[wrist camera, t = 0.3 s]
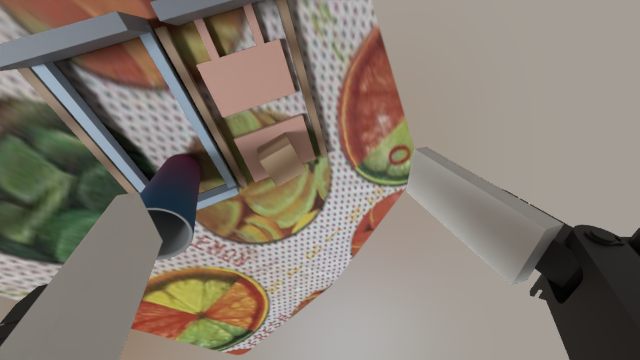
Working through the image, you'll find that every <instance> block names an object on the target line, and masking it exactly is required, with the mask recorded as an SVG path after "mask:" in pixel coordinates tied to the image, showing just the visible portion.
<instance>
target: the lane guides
mask: <svg viewBox="0 0 640 360" xmlns="http://www.w3.org/2000/svg"><path fill="white" fill-rule="evenodd" d="M275 1H276V4H277V8H278V11H279V14H280V18H281V21H282V25H283V28H284V32H285V35H286V39H287V42H288V46H289V49H290V53H291V56H292V59H293V63H294V66H295V70H296V73H297V77H298V80H299V84H300V87H301V91H302V94H303V97H304V101H305V104H306V108H307V111H308V115H309V118H310V122H311V125H312V129H313V132H314V136H315V139H316V142H317V146H318V149H319V153H320V155H321V157H322V158H324V157H327V156H328V154H327V150H326V147H325V143H324V139H323V135H322V132H321V128H320V124H319V120H318V117H317V113H316V109H315V106H314V102H313V98H312V94H311V91H310V87H309V83H308V80H307V76H306V72H305V68H304V65H303V61H302V57H301V53H300V50H299V46H298V42H297V39H296V35H295V31H294V27H293V24H292V20H291V16H290V12H289V9H288V5H287V1H286V0H275ZM154 30H155V32H156V33H157V35H158V37H159V39H160V41H161V42H162V44H163V46H164V48H165V50H166V52H167V53H168V55H169V57H170V59H171V61H172V62H173V64H174V66H175V68H176V70H177V71H178V73H179V75H180V77H181V79H182V81H183V82H184V84H185V86H186V88H187V90H188V91H189V93H190V95H191V97H192V99H193V100H194V102H195V104H196V106H197V108H198V110H199V111H200V113H201V115H202V117H203V119H204V120H205V122H206V124H207V126H208V128H209V130H210V131H211V133H212V135H213V137H214V139H215V140H216V142H217V144H218V146H219V148H220V149H221V151H222V153H223V155H224V157H225V159H226V160H227V162H228V164H229V166H230V168H231V169H232V171H233V173H234V175H235V177H236V179H237V180H238V182H239V184H240V186H241V188H242V189H244V188H246V187H248V182H247V180H246V178H245V176H244V174H243V172H242V170H241V168H240V166H239V164H238V163H237V161H236V159H235V157H234V155H233V153H232V151H231V149H230V147H229V145H228V143H227V142H226V140H225V138H224V136H223V134H222V132H221V130H220V128H219V126H218V124H217V122H216V121H215V119H214V117H213V115H212V113H211V111H210V109H209V107H208V105H207V103H206V101H205V100H204V98H203V96H202V94H201V92H200V90H199V88H198V86H197V84H196V82H195V80H194V79H193V77H192V75H191V73H190V71H189V69H188V67H187V65H186V63H185V61H184V59H183V58H182V56H181V54H180V52H179V50H178V48H177V46H176V44H175V42H174V40H173V38H172V37H171V35H170V33H169V31H168V29H167V27H164V26H162V27H159V28H155V29H154ZM17 70H18V71H19V72H20V73H21V75H22V76H23V77H24V78H25V79H26V80H27V81H28V82H29V83H30V84H31V86H32V87H33V88H34V89H35V90H36V91H37V92H38V93H39V94H40V96H41V97H42V98H43V99H44V100H45V101H46V102H47V103H48V104H49V106H50V107H51V108H52V109H53V110H54V111H55V112H56V113H57V114H58V116H59V117H60V118H61V119H62V120H63V121H64V122H65V123H66V124H67V125H68V127H69V128H70V129H71V130H72V131H73V132H74V133H75V134H76V135H77V137H78V138H79V139H80V140H81V141H82V142H83V143H84V144H85V145H86V147H87V148H88V149H89V150H90V151H91V152H92V153H93V154H94V155H95V157H96V158H97V159H98V160H99V161H100V162H101V163H102V164H103V165H104V167H105V168H106V169H107V170H108V171H109V172H110V173H111V174H112V175H113V176H114V178H115V179H116V180H117V181H118V182H119V183H120V184H121V185H122V186H123V188H124V189H125V190H126V191H127V192H128V193H129V194H131V193H137V192H138V193H139V194H140V192H139V191H138V190H137V189H136V188H135V186H134V185H133V184H132V183H131V182H130V181H129V179H128V178H127V177H126V176H125V175H124V174H123V173H122V171H121V170H120V169H119V168H118V167H117V166H116V164H115V163H114V162H113V161H112V160H111V159H110V158H109V156H108V155H107V154H106V153H105V152H104V151H103V149H102V148H101V147H100V146H99V145H98V144H97V143H96V141H95V140H94V139H93V138H92V137H91V136H90V134H89V133H88V132H87V131H86V130H85V129H84V128H83V126H82V125H81V124H80V123H79V122H78V121H77V119H76V118H75V117H74V116H73V115H72V114H71V113H70V111H69V110H68V109H67V108H66V107H65V106H64V104H63V103H62V102H61V101H60V100H59V99H58V97H57V96H56V95H55V94H54V93H53V92H52V91H51V89H50V88H49V87H48V86H47V85H46V84H45V82H44V81H43V80H42V79H41V78H40V77H39V76H38V74H37V73H36V72H35V71H34V70H33V69H32V67H28V68H20V69H17Z"/></svg>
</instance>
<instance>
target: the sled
mask: <svg viewBox="0 0 640 360" xmlns="http://www.w3.org/2000/svg"><path fill="white" fill-rule="evenodd" d="M138 37H140V38H141V40H142V42H143V44H144V45H145V47H146V49H147V50H148V52H149V54H150V55H151V57H152V59H153V61H154V62H155V64H156V66H157V67H158V69H159V71H160V72H161V74H162V76H163V77H164V79H165V81H166V83H167V84H168V86H169V88H170V89H171V91H172V93H173V94H174V96H175V98H176V99H177V101H178V103H179V105H180V106H181V108H182V110H183V111H184V113H185V115H186V116H187V118H188V120H189V122H190V123H191V125H192V127H193V128H194V130H195V132H196V133H197V135H198V137H199V138H200V140H201V142H202V144H203V145H204V147H205V149H206V150H207V152H208V154H209V155H210V157H211V159H212V161H213V162H214V164H215V166H216V167H217V169H218V171H219V172H220V174H221V176H222V177H223V179H224V181H225V183H226V184H225V185H222V186H220V187H217V188H214V189H212V190H209V191H206V192H204V193H201V194H198V201H197V210H198V209H201V208H204V207H206V206H209V205H211V204H214V203H217V202H219V201H222V200H224V199H227V198H230V197H232V196H235V195H237V194H239V185H238V183H237V181H236V180H235V178H234V176H233V174H232V172H231V171H230V169H229V167H228V165H227V163H226V162H225V160H224V158H223V156H222V154H221V153H220V151H219V149H218V147H217V145H216V144H215V142H214V140H213V138H212V136H211V135H210V133H209V131H208V129H207V127H206V126H205V124H204V122H203V120H202V119H201V117H200V115H199V113H198V111H197V110H196V108H195V106H194V104H193V102H192V101H191V99H190V97H189V95H188V93H187V92H186V90H185V88H184V86H183V84H182V83H181V81H180V79H179V77H178V75H177V74H176V72H175V70H174V68H173V66H172V65H171V63H170V61H169V59H168V57H167V56H166V54H165V52H164V50H163V48H162V47H161V45H160V43H159V41H158V39H157V38H156V36H155V34H154V32H153V30H152V29H151V27H150V25H149V23H148V21H147V20H146V19H145V18H141V17H137V16H133V15H129V14H125V13H121V12H117V11H116V12H112V13H109V14H105V15H102V16H98V17H94V18H91V19H87V20H84V21H80V22H76V23H73V24H69V25H66V26H62V27H59V28H55V29H51V30H48V31H44V32H41V33H37V34H34V35H30V36H26V37H23V38H19V39H16V40H12V41H9V42H5V43H1V44H0V71H4V70H12V69H20V68H28V67H32V69H33V70H34V71H35V72H36V73H37V74H38V76H39V77H40V78H41V79H42V80H43V81H44V82H45V84H46V85H47V86H48V87H49V88H50V89H51V91H52V92H53V93H54V94H55V95H56V96H57V97H58V99H59V100H60V101H61V102H62V103H63V104H64V106H65V107H66V108H67V109H68V110H69V111H70V113H71V114H72V115H73V116H74V117H75V118H76V119H77V121H78V122H79V123H80V124H81V125H82V126H83V128H84V129H85V130H86V131H87V132H88V133H89V134H90V136H91V137H92V138H93V139H94V140H95V141H96V143H97V144H98V145H99V146H100V147H101V148H102V149H103V151H104V152H105V153H106V154H107V155H108V156H109V158H110V159H111V160H112V161H113V162H114V163H115V164H116V166H117V167H118V168H119V169H120V170H121V171H122V173H123V174H124V175H125V176H126V177H127V178H128V179H129V181H130V182H131V183H132V184H133V185H134V186H135V188H136V189H137V190H138V191H139V192H140V193H141V192H142V190H143V189H144V188H145V187H146V185H147V184H148V183H149V180H148V179H147V178H146V177H145V175H144V174H143V173H142V172H141V171H140V169H139V168H138V167H137V166H136V164H135V163H134V162H133V161H132V159H131V158H130V157H129V156H128V155H127V153H126V152H125V151H124V150H123V148H122V147H121V146H120V145H119V143H118V142H117V141H116V140H115V138H114V137H113V136H112V135H111V134H110V132H109V131H108V130H107V129H106V127H105V126H104V125H103V124H102V122H101V121H100V120H99V119H98V118H97V116H96V115H95V114H94V113H93V111H92V110H91V109H90V108H89V106H88V105H87V104H86V103H85V101H84V100H83V99H82V98H81V97H80V95H79V94H78V93H77V92H76V90H75V89H74V88H73V87H72V85H71V84H70V83H69V82H68V80H67V79H66V78H65V77H64V76H63V74H62V73H61V72H60V71H59V69H58V68H57V67H56V66H55V64H54V63H53V62H56V61H60V60H63V59H66V58H70V57H73V56H77V55H80V54H83V53H87V52H90V51H94V50H97V49H100V48H104V47H107V46H111V45H114V44H117V43H121V42H124V41H128V40H131V39H134V38H138Z"/></svg>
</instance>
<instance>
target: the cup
mask: <svg viewBox="0 0 640 360" xmlns="http://www.w3.org/2000/svg"><path fill="white" fill-rule="evenodd" d="M200 177H201V167H200V165H199V163H198V162H197V161H196V160H195V159H194V158H192V157H190V156H187V155H174V156H172V157H170V158H168V159H167V160H166V162H165V163H164V164H163V165H162V167H161V168H160V169H159V170H158V172H157V173H156V174H155V175H154V177H153V178H152V179H151V180H150V182H149V183H148V184H147V185H146V187H145V188H144V189H143V190H142V192H141V193H140V194H139V195H140V197H141V199H142V201H143V203H144V205H145V207H146V209H147V211H148V213H149V215H150V217H151V219H152V221H153V223H154V225H155V227H156V229H157V231H158V233H159V235H160V237H161V239H162V241H163V242H162V244H161V247H160V250H159V252H158V255H157V258H156V260H161V259H167V258H171V257H174V256H176V255H178V254H180V253H182V252H183V251H185V250H186V249H187V248H188V247H189V246H190V244H191V242H192V239H193V234H194V226H195V218H196V210H197V201H198V193H199V185H200Z"/></svg>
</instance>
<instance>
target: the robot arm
mask: <svg viewBox="0 0 640 360" xmlns="http://www.w3.org/2000/svg"><path fill="white" fill-rule="evenodd" d="M406 192H407V193H409V194H410V195H411V196H412V197H413V198H414V199H415V200H416V201H418V202H419V203H420V204H421V205H422V206H423V207H424V208H425V209H427V210H428V211H429V212H430V213H431V214H432V215H433V216H434V217H436V218H437V219H438V220H439V221H440V222H441V223H442V224H443V225H445V226H446V227H447V228H448V229H449V230H450V231H451V232H453V233H454V234H455V235H456V236H457V237H458V238H459V239H460V240H461V241H463V242H464V243H465V244H466V245H467V246H468V247H469V248H470V249H472V250H473V251H474V252H475V253H476V254H477V255H478V256H479V257H481V258H482V259H483V260H484V261H485V262H486V263H487V264H488V265H490V266H491V267H492V268H493V269H494V270H495V271H496V272H497V273H498V274H500V275H501V276H502V277H503V278H504V279H505V280H507V282H509V283H510V284H511V285H514V284H517V283H519V282H522V281H525V280H527V279H528V278H529V276H530V275H531V273H532V272H533V270H534V269H536V270H538V271H539V272H540V273H542V274H541V275H540V277H539V278H538V280H537V281H536V283H535V284H534V286H533V287H532V288H531V290H530V296H535V294H536V293H537V291H538V290H542V293H541V294H540V296H539V298H540V299H544V300H546V301H547V304H548V306H549V309H550V311H551V314H552V316H553V319H554V321H555V324H556V326H557V329H558V331H559V334H560V336H561V339H562V341H563V344H564V346H565V349H566V351H567V354H568V356H569V359H570V360H640V228H639V229H638V230H637V231H636V232H635V233H634V234H633V236H632V237H619V236H617V235H615V234H613V233H611V232H609V231H606V230H604V229H601V228H597V227H594V226H589V225H578V226H575V227H574V228H573V227H571V226H569V225H567V224H565V223H563V222H562V221H560V220H558V219H556V218H554V217H553V216H551V215H549V214H547V213H546V212H544V211H542V210H540V209H538V208H536V207H535V206H533V205H531V204H530V205H529V204H528V202H526V201H524V200H522V199H518V197H517V196H515V195H513V194H511V193H510V192H508V191H506V190H503V189H500V188H499V187H497V186H495V185H493V184H492V183H490V182H488V181H486V180H484V179H483V178H481V177H479V176H477V175H476V174H474V173H472V172H470V171H468V170H467V169H465V168H463V167H461V166H459V165H458V164H456V163H454V162H452V161H450V160H449V159H447V158H445V157H443V156H442V155H440V154H438V153H436V152H435V151H433V150H431V149H429V148H427V147H423V148H417V149H414V154H413V159H412V164H411V169H410V174H409V179H408V184H407V189H406ZM162 242H163V241H162V239H161V237H160V235H159V233H158V231H157V229H156V227H155V225H154V223H153V221H152V219H151V217H150V215H149V213H148V211H147V209H146V207H145V205H144V203H143V201H142V199H141V197H140V195H139V193H138V192H137V193H131V194H124V195H118V196H116V197H115V198H114V200H113V201H112V202H111V204H110V205H109V206H108V208H107V209H106V210H105V211H104V213H103V214H102V215H101V217H100V218H99V219H98V221H97V222H96V223H95V224H94V226H93V227H92V228H91V230H90V231H89V232H88V234H87V235H86V236H85V237H84V239H83V240H82V241H81V243H80V244H79V245H78V247H77V248H76V249H75V250H74V252H73V253H72V254H71V256H70V257H69V258H68V260H67V261H66V262H65V263H64V265H63V266H62V267H61V269H60V270H59V271H58V273H57V274H56V275H55V276H54V278H53V279H52V280H51V282H50V283H49V284H46V285H42V286H38V287H37V288H36V289H34V290H33V291H32V292H31V293H29V294H28V295H27V296H26V297H24V298H23V299H22V300H21V301H20V302H18V303H17V304H16V305H15V306H14V307H13V308H12V310H11V311H10V312H9V313H8V315H7V316H6V317H5V318H4V319H3V320H2V322H1V323H0V360H119V359H120V356H121V353H122V351H123V348H124V345H125V342H126V340H127V337H128V334H129V331H130V329H131V326H132V323H133V321H134V318H135V315H136V312H137V310H138V307H139V304H140V302H141V299H142V296H143V293H144V291H145V288H146V285H147V282H148V280H149V277H150V274H151V272H152V269H153V266H154V263H155V261H156V258H157V255H158V252H159V250H160V247H161V244H162Z"/></svg>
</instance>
